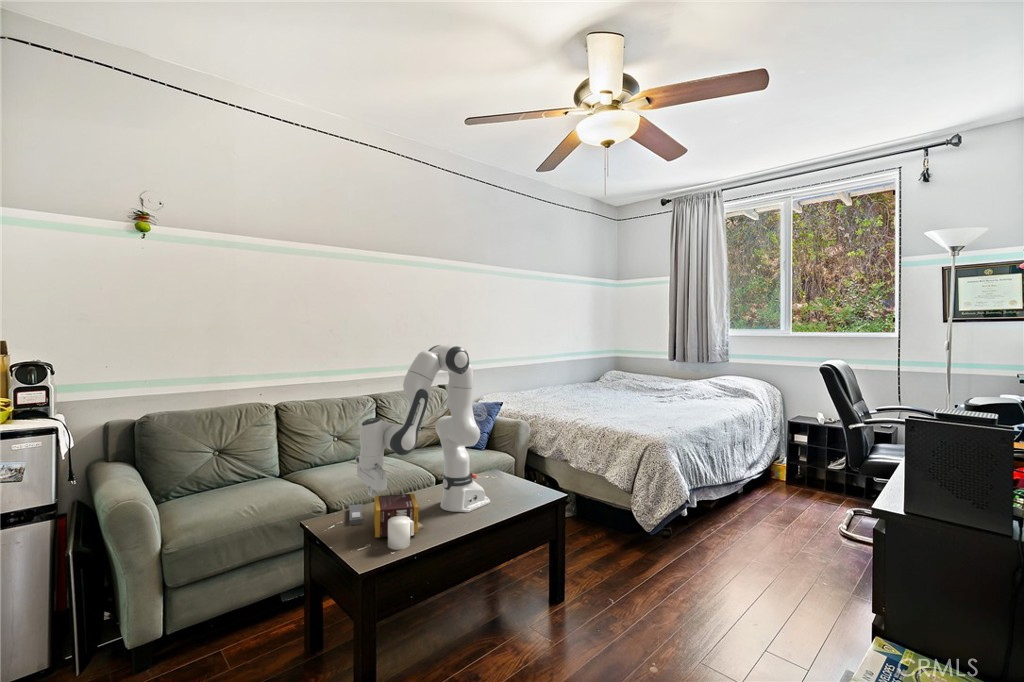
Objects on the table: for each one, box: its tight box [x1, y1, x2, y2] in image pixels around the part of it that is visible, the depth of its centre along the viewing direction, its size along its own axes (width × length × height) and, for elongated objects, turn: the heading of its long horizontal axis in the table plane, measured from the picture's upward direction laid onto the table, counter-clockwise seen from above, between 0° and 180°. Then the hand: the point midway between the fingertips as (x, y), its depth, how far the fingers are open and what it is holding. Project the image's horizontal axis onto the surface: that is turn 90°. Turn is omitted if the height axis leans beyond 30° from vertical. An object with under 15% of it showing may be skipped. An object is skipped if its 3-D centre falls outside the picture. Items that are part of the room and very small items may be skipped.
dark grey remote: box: [349, 503, 364, 526], centre depth 197 cm, size 16×5×3 cm, turn 19°
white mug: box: [387, 516, 415, 551], centre depth 173 cm, size 9×8×9 cm
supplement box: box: [373, 493, 419, 538], centre depth 184 cm, size 10×15×16 cm
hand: (371, 496), depth 183 cm, fingers closed
